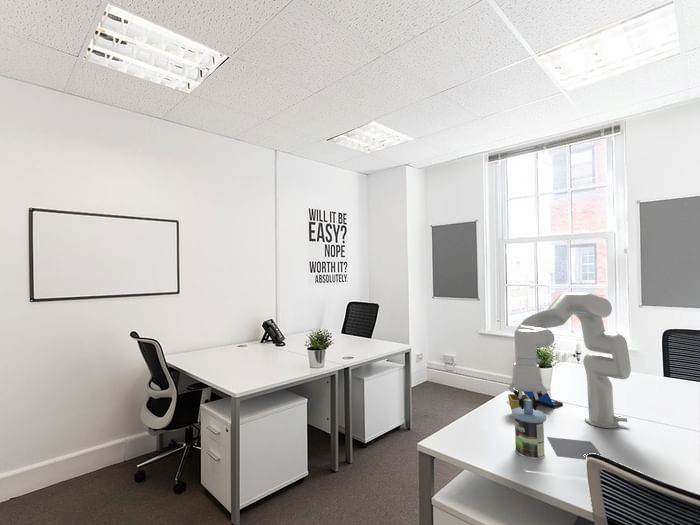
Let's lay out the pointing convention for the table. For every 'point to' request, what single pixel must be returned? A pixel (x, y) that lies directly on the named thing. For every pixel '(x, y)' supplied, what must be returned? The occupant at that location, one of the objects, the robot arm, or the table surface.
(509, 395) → the flower pot
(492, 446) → the table surface
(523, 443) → the coffee can
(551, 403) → the handheld game console
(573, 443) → the mat
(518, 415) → the lid
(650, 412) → the table surface
